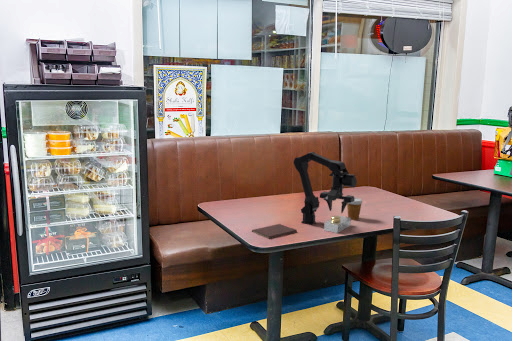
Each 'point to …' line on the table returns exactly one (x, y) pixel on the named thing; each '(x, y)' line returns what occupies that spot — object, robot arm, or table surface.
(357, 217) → the disposable coffee cup
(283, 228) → the notebook
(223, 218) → the table surface
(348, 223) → the grey white block
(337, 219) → the brass pin
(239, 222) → the table surface
